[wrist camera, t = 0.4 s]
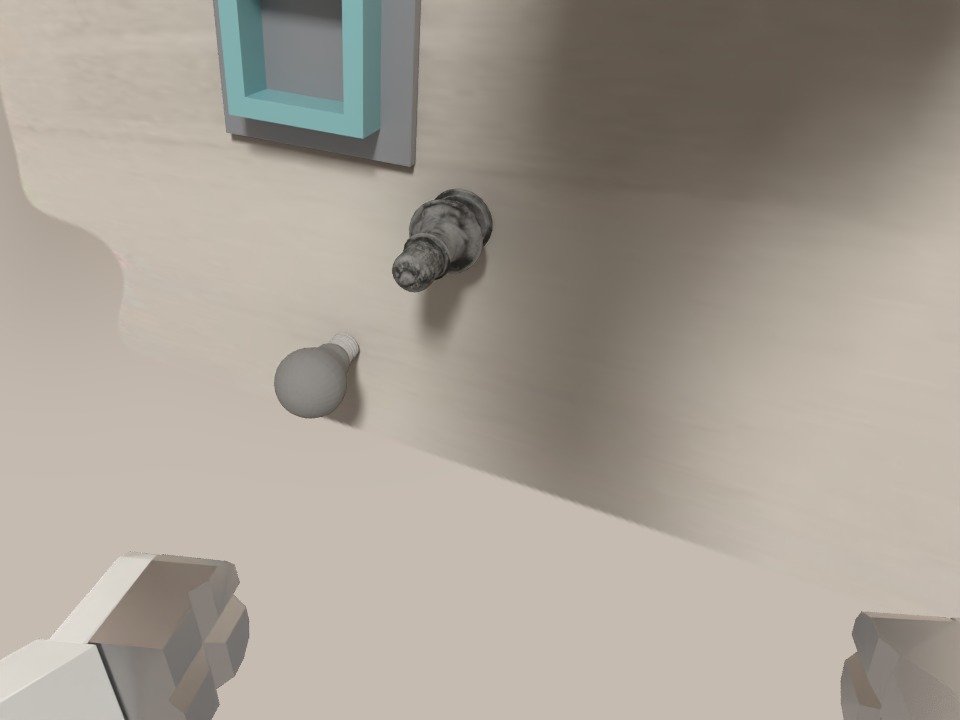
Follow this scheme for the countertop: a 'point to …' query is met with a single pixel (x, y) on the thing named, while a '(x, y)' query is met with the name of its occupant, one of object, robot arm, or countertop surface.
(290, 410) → the light bulb
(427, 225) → the salt shaker
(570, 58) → the countertop surface
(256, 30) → the socket
